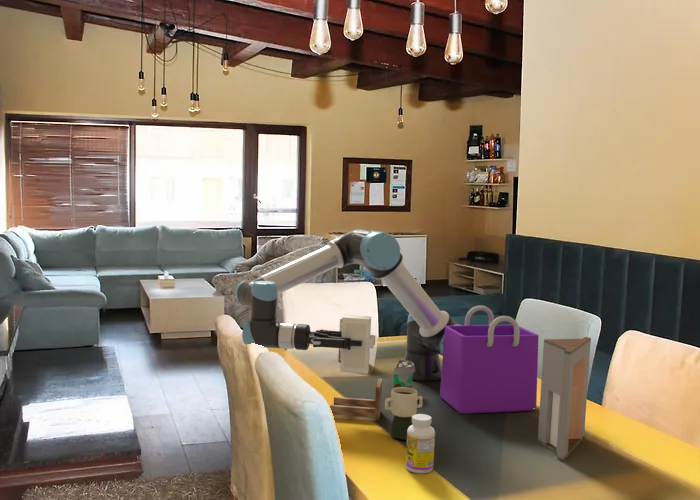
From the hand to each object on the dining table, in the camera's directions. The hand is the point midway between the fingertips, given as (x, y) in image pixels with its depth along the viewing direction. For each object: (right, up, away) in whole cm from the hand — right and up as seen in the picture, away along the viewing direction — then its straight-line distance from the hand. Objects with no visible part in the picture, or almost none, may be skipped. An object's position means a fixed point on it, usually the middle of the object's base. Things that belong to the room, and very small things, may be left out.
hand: (374, 341), depth 203 cm
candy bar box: (-6, -16, +63) cm, 65 cm away
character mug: (+7, -24, -15) cm, 29 cm away
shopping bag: (+36, -22, +17) cm, 45 cm away
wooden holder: (-6, -22, +3) cm, 23 cm away
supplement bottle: (+10, -26, -35) cm, 45 cm away
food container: (+11, -20, +25) cm, 34 cm away
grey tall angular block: (+48, -26, -16) cm, 57 cm away
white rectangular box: (-6, -9, +1) cm, 11 cm away
